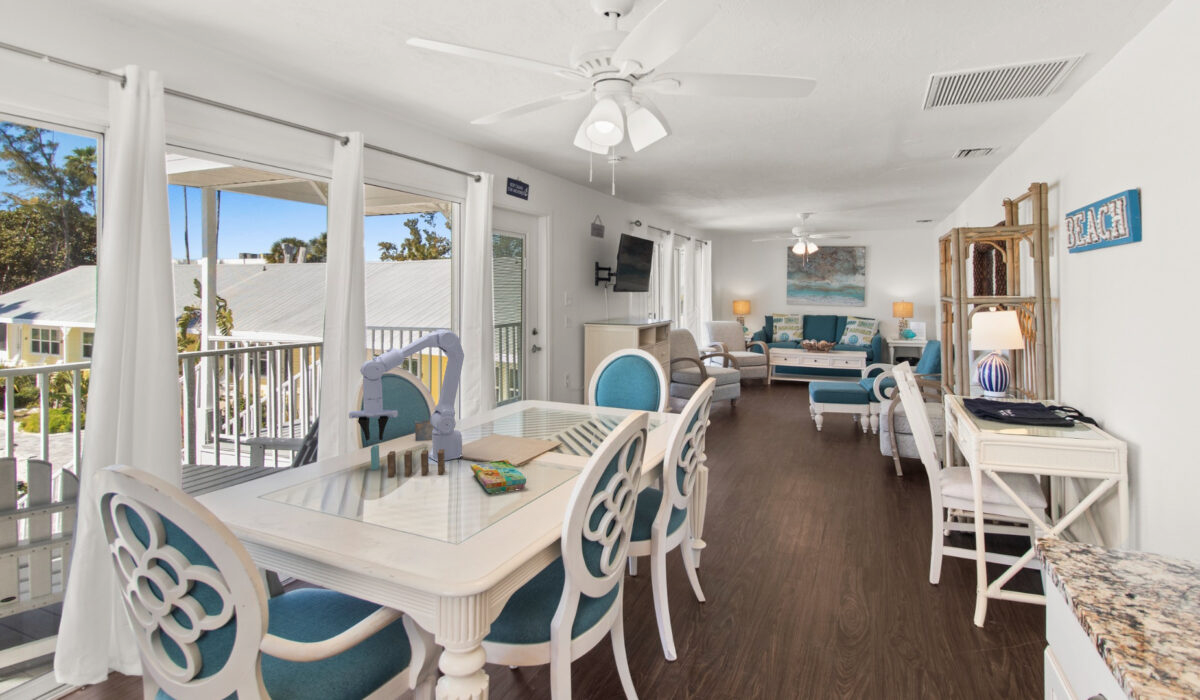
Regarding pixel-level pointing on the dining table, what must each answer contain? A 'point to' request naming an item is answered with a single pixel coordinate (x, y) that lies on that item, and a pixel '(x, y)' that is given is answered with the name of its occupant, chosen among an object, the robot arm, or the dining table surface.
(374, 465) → the domino
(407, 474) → the domino
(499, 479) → the puzzle game
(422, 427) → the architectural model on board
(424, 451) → the domino
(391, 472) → the domino
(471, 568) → the dining table surface
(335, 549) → the dining table surface
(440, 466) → the domino
